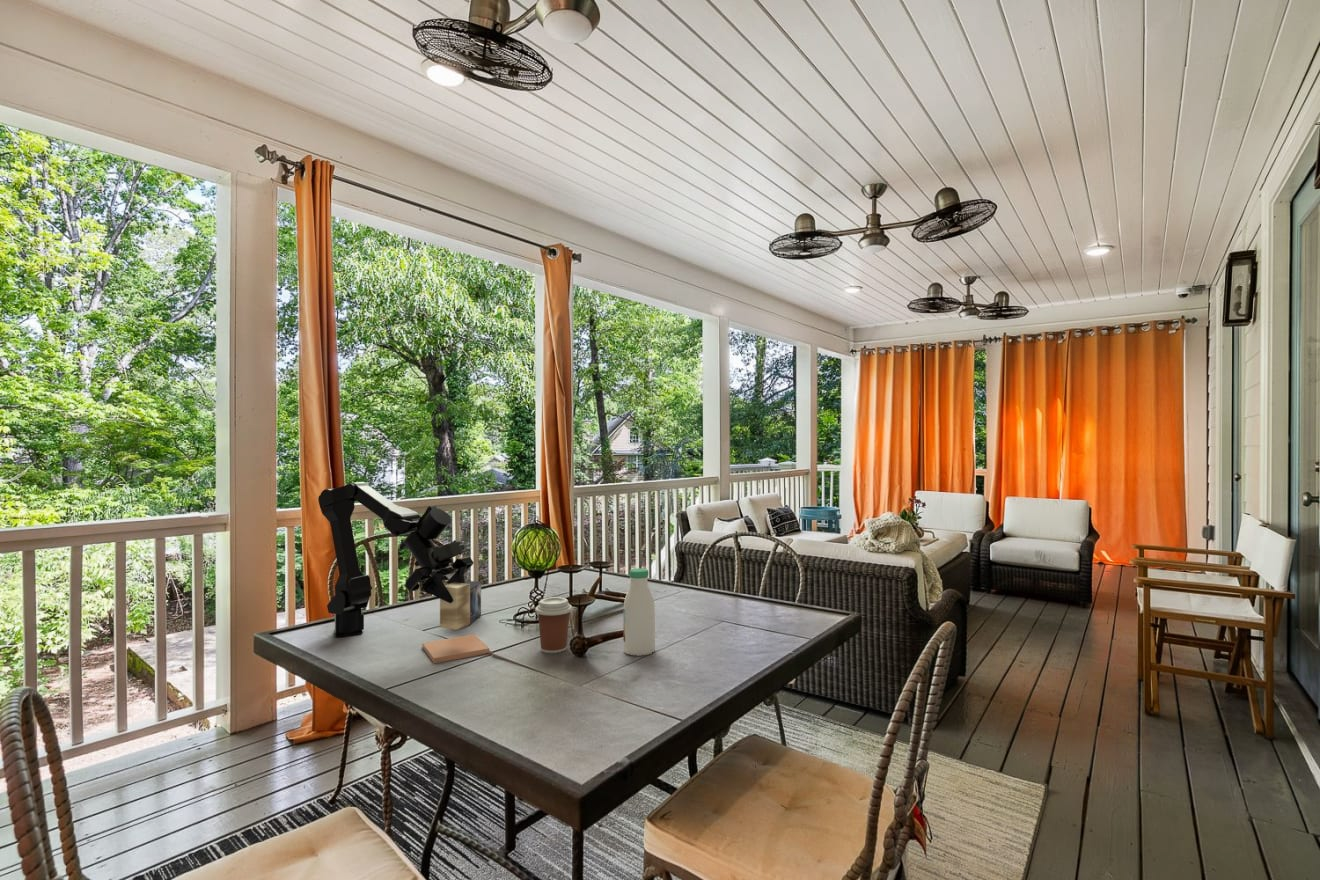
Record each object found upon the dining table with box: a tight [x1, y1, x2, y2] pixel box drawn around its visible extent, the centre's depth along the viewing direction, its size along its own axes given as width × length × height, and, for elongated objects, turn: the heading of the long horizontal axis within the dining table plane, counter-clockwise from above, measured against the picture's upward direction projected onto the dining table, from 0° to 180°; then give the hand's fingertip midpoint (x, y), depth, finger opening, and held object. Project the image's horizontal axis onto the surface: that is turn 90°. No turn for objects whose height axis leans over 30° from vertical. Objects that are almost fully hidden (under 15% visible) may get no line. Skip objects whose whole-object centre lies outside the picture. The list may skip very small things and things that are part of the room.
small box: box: [465, 580, 482, 626], centre depth 178 cm, size 11×6×10 cm, turn 179°
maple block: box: [439, 582, 471, 630], centre depth 152 cm, size 5×5×10 cm
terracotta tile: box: [421, 634, 490, 664], centre depth 152 cm, size 13×13×1 cm
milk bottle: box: [622, 567, 656, 657], centre depth 151 cm, size 8×8×20 cm
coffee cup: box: [534, 596, 573, 654], centre depth 153 cm, size 9×9×12 cm
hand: (459, 599), depth 152 cm, fingers closed on maple block, 5 cm apart
